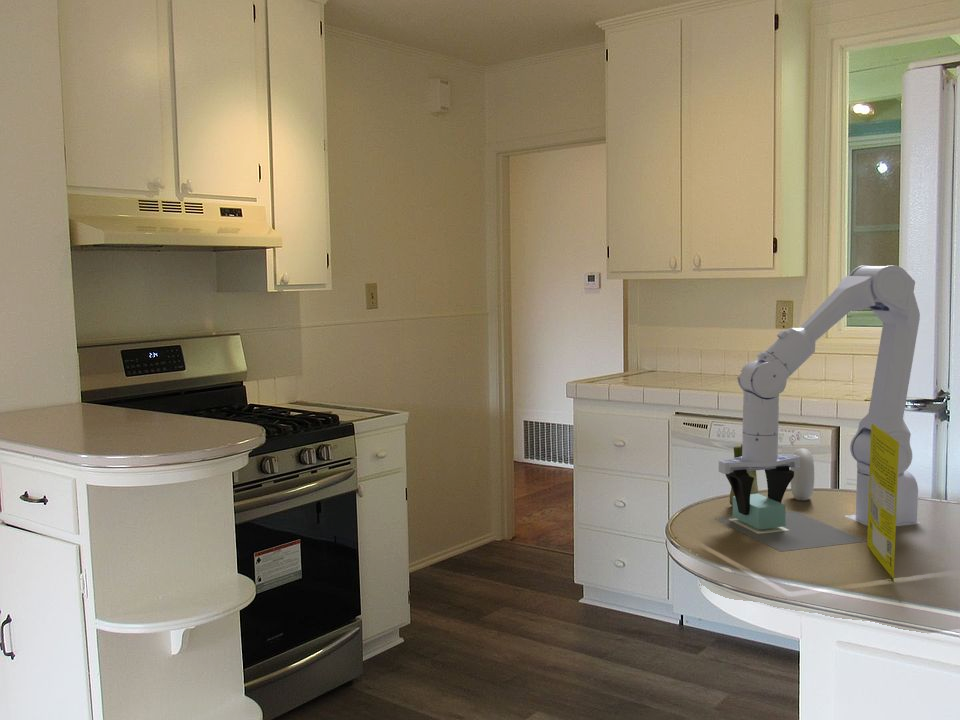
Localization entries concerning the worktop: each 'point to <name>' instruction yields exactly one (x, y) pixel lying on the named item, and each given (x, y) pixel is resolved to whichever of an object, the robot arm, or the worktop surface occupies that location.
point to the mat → (795, 533)
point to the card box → (762, 512)
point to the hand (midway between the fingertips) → (758, 512)
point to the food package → (883, 497)
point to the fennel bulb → (751, 473)
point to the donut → (803, 476)
